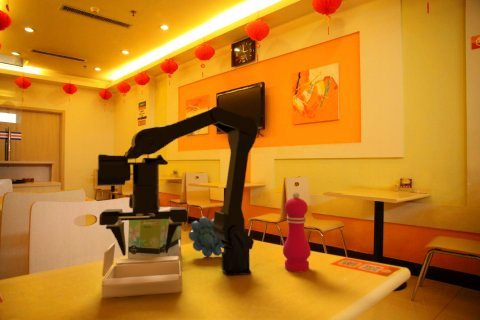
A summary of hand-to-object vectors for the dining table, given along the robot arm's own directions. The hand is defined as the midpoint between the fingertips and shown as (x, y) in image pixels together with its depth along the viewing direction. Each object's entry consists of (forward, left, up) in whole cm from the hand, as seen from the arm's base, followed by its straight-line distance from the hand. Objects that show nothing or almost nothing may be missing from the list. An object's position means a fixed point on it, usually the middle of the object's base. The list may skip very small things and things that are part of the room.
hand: (145, 254), depth 72 cm
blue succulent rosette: (-16, -20, -7) cm, 27 cm away
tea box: (-1, -22, -7) cm, 23 cm away
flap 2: (-8, 0, -1) cm, 8 cm away
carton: (0, 0, -7) cm, 7 cm away
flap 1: (+8, 0, -1) cm, 8 cm away
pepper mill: (-38, -5, -7) cm, 39 cm away
